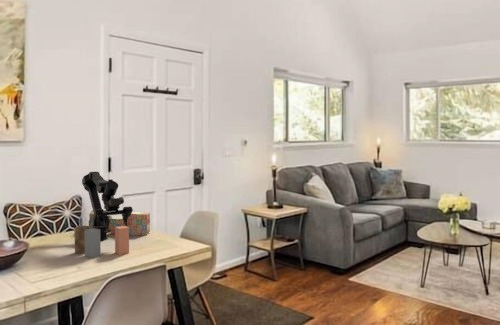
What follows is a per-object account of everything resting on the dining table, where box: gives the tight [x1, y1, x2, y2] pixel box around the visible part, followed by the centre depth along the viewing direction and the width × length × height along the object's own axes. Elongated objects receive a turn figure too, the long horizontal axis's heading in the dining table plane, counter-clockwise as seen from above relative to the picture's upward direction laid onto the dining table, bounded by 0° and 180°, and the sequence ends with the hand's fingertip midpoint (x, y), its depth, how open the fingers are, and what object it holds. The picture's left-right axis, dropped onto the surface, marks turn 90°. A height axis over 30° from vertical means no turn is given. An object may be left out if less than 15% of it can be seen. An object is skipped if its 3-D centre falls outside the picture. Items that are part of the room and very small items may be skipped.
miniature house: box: [88, 210, 113, 234], centre depth 258 cm, size 15×14×11 cm
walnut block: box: [74, 225, 90, 255], centre depth 210 cm, size 5×5×12 cm
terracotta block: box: [114, 226, 130, 256], centre depth 209 cm, size 5×5×12 cm
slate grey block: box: [84, 228, 102, 259], centre depth 203 cm, size 5×5×12 cm
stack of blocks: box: [110, 211, 151, 236], centre depth 251 cm, size 21×6×12 cm, turn 87°
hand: (117, 226), depth 214 cm, fingers open, 9 cm apart
